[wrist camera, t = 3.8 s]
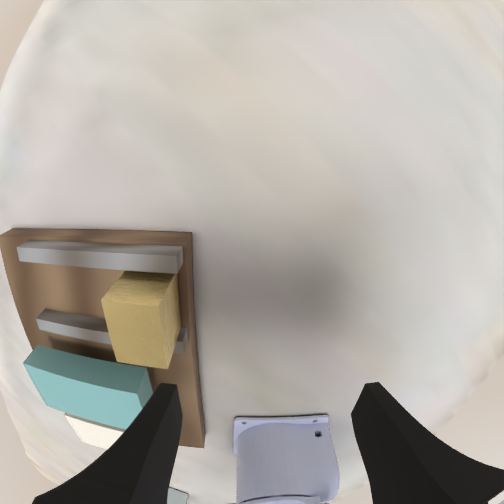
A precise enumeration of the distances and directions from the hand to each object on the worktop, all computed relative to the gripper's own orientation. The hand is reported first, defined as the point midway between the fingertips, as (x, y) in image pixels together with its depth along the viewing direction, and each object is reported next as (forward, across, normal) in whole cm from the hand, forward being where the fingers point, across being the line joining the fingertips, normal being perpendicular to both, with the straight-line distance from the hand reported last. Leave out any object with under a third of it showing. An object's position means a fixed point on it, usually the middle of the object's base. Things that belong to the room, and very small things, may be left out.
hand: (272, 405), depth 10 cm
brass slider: (+8, +7, 0) cm, 10 cm away
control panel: (+10, +12, +8) cm, 18 cm away
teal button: (+6, +13, +8) cm, 16 cm away
